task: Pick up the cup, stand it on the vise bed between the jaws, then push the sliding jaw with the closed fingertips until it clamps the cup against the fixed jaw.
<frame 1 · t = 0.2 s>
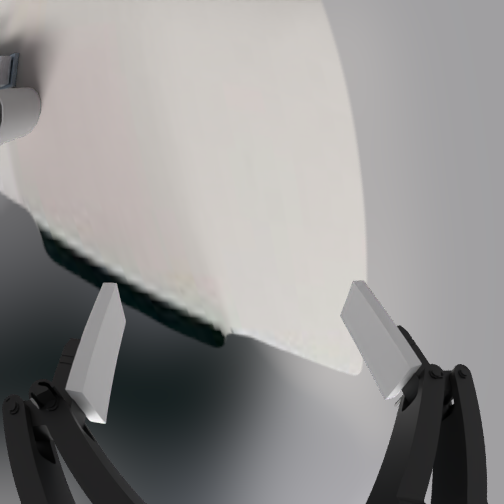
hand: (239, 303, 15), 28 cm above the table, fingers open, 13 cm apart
cup: (23, 111, 26), on the table
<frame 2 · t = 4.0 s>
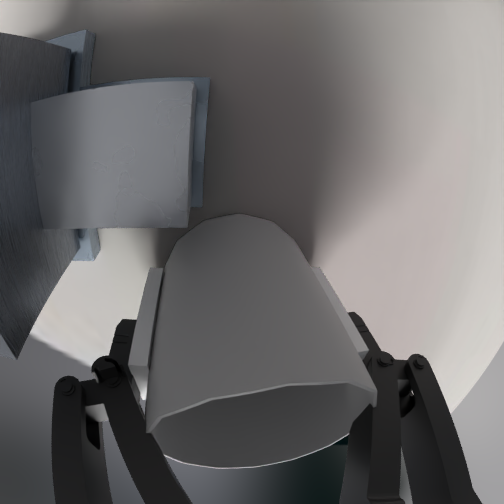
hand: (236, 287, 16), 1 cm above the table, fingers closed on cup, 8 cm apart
cup: (234, 277, 17), on the table, touching gripper
jaw: (56, 169, 7), point 5 cm above the table, slide at 0.0 cm
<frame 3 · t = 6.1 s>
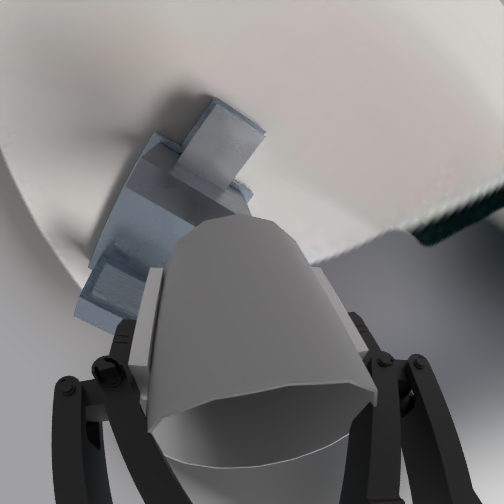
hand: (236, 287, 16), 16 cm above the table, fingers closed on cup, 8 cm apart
cup: (235, 277, 17), point 14 cm above the table, touching gripper
jaw: (211, 163, 22), point 5 cm above the table, slide at 0.0 cm
vise base: (161, 228, 30), on the table
when the fingers open (3 cm above the table, at t = 8.5 s): cup drops 1 cm, resting on vise base.
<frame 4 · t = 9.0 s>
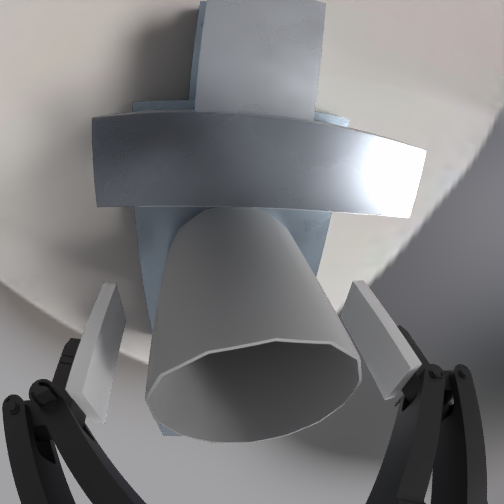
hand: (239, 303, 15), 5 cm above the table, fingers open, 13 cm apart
cup: (231, 264, 18), point 1 cm above the table, touching vise base
jaw: (263, 76, 9), point 5 cm above the table, slide at 0.0 cm
vise base: (231, 243, 18), on the table
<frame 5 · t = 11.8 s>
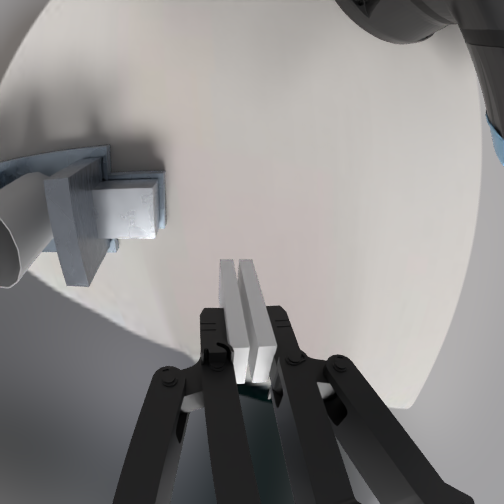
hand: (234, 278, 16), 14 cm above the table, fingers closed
cup: (38, 205, 24), point 1 cm above the table, touching vise base
jaw: (106, 218, 22), point 5 cm above the table, slide at 0.0 cm
vise base: (48, 202, 25), on the table
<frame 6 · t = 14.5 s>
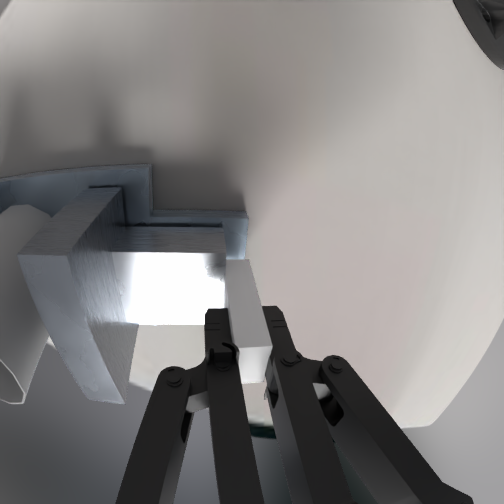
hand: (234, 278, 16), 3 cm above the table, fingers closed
cup: (33, 255, 15), point 1 cm above the table, touching vise base
jaw: (142, 300, 14), point 5 cm above the table, slide at 1.0 cm, touching gripper
vise base: (48, 249, 16), on the table
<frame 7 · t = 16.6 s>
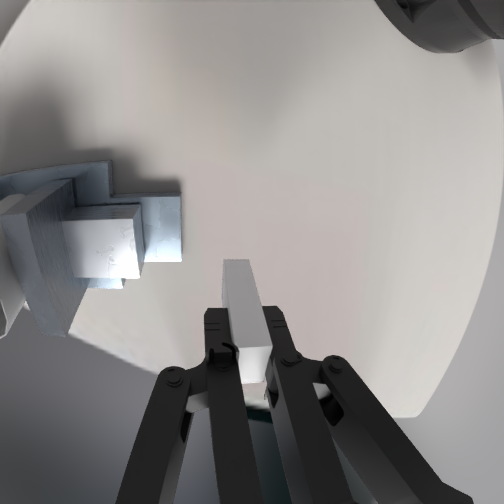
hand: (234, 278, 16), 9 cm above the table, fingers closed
cup: (24, 233, 19), point 1 cm above the table, touching vise base
jaw: (80, 255, 17), point 5 cm above the table, slide at 2.7 cm
vise base: (38, 229, 20), on the table
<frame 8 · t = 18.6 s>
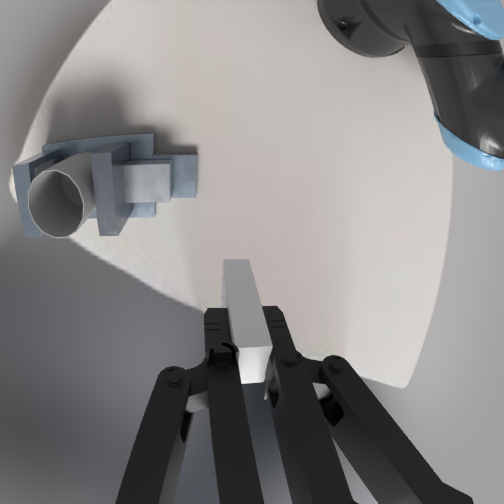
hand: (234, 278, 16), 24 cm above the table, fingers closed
cup: (86, 179, 33), point 1 cm above the table, touching vise base
jaw: (134, 185, 31), point 5 cm above the table, slide at 2.7 cm
vise base: (97, 177, 34), on the table
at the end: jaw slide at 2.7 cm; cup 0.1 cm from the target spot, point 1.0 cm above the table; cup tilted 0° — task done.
